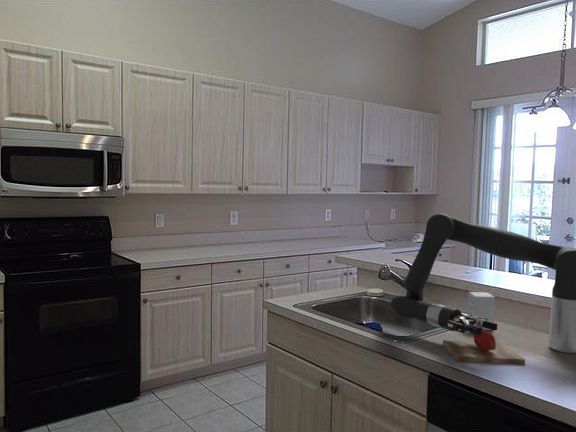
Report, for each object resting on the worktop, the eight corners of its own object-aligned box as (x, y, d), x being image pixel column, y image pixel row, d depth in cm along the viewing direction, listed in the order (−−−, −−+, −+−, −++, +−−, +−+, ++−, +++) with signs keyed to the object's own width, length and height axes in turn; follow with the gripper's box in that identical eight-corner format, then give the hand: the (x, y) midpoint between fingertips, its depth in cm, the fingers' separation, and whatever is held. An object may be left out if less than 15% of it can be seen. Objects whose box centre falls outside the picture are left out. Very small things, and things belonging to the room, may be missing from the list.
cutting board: (504, 347, 157) (504, 342, 157) (524, 364, 142) (525, 359, 142) (442, 344, 158) (442, 340, 158) (456, 361, 143) (457, 356, 143)
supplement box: (486, 324, 183) (488, 292, 182) (493, 330, 175) (495, 296, 174) (466, 324, 183) (468, 291, 182) (473, 329, 176) (475, 296, 175)
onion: (493, 354, 150) (471, 336, 154) (503, 340, 148) (481, 323, 152) (486, 358, 145) (464, 340, 150) (497, 343, 143) (474, 326, 148)
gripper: (431, 308, 156) (477, 321, 143) (456, 303, 164) (502, 314, 152) (430, 331, 156) (476, 345, 143) (455, 324, 165) (500, 337, 152)
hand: (489, 329), depth 147 cm, fingers open, 8 cm apart
